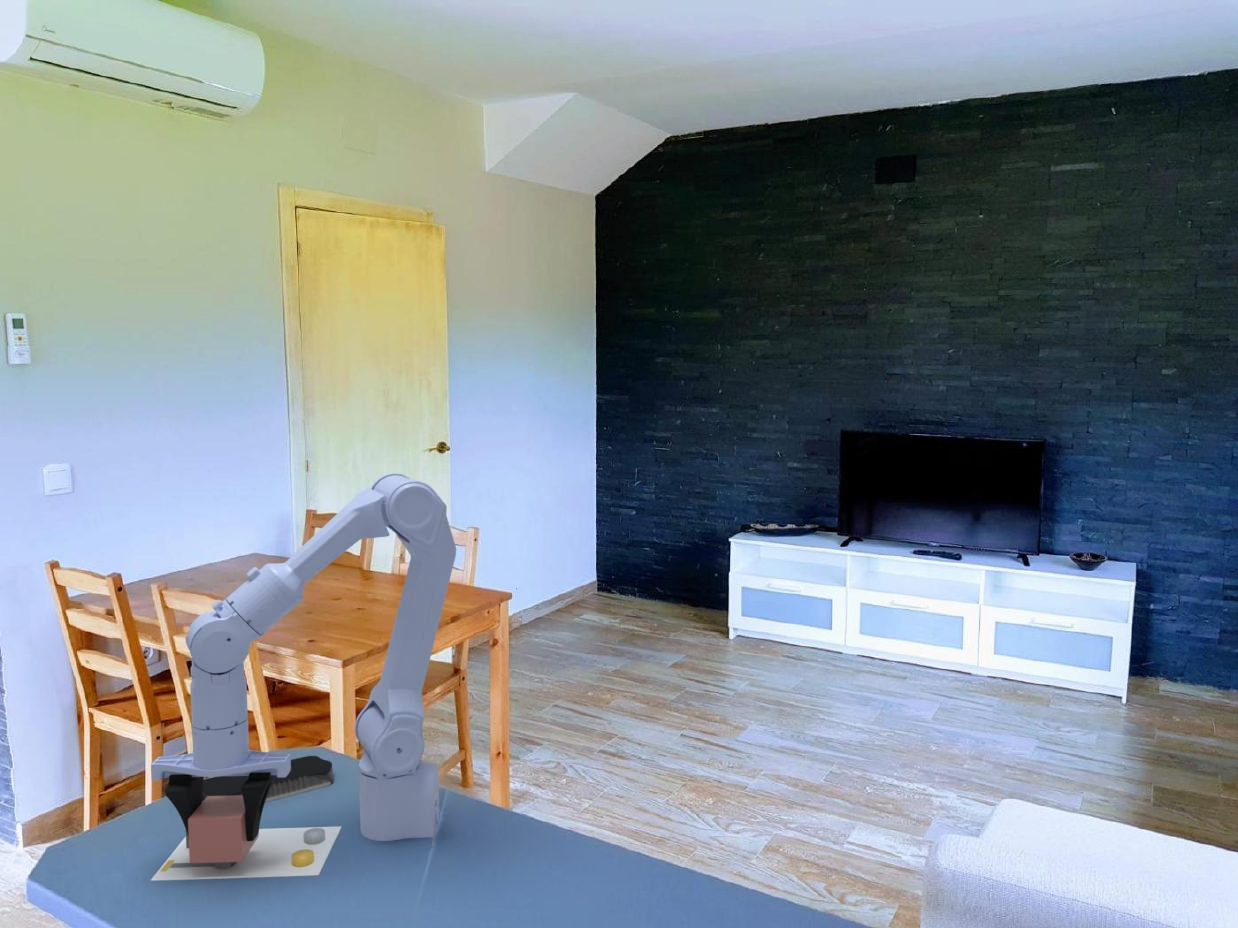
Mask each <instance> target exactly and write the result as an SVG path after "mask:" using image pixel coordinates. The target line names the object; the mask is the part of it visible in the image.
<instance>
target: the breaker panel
mask: <svg viewBox="0 0 1238 928" xmlns="http://www.w3.org/2000/svg"><path fill="white" fill-rule="evenodd" d="M341 829H342V826H341V825H340V826H316V827H315V826H313V827H310V826H309V827H308V826H307V827H277V828H259V837H258V838H257V840H256V841H255V843H254V844H253V846H252V847H251V849H250V851H249V852H248V854H247V855H246V857H245V858H244V860H243V861H242V862H233V864H232V865H231V867H230V868H215V863H190V856H189V838H188V834H187V831H186V830H185V837H184V838H183V839H182V840H181V841H180V843H179V844H178V845H177V847H176V848H175V849H174V850H173V851H172V853H171V854H170V855H169V857H168V858H167V859H166V860H165V862H164V863H163V864H162V865H161V867H160V868H159V869H158V870H157V872H156V873H155V874H154V875H153V876H152V878H151V879H150V882H156V881H157V882H158V881H187V880H189V881H190V880H218V879H221V880H222V879H247V878H249V879H251V878H278V877H283V878H284V877H307V876H308V877H309V876H310V877H311V876H313V877H315V876H317V877H318V876H320V874H321V872H322V869H323V867H324V865H325V862H326V860H327V859H328V857H329V855H330V852H331V851H332V848H333V846H334V844H335V842H336V840H337V838H338V835H339V833H340V831H341Z"/></svg>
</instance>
